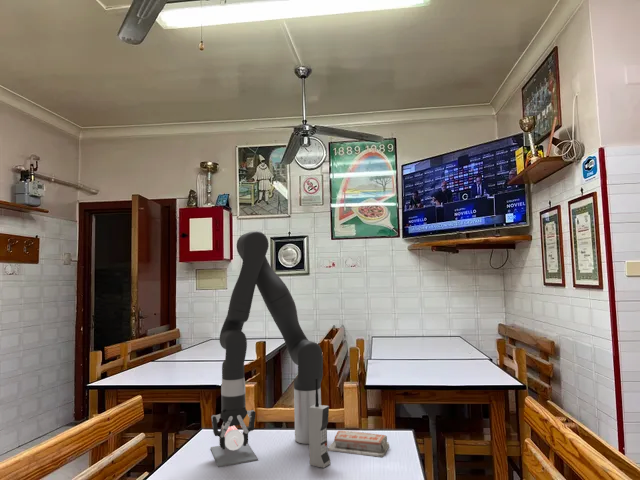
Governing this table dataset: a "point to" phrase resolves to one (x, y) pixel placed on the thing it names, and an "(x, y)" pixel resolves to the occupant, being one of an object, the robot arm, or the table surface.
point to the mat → (233, 455)
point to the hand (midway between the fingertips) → (234, 446)
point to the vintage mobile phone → (318, 433)
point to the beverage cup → (233, 438)
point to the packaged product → (360, 443)
